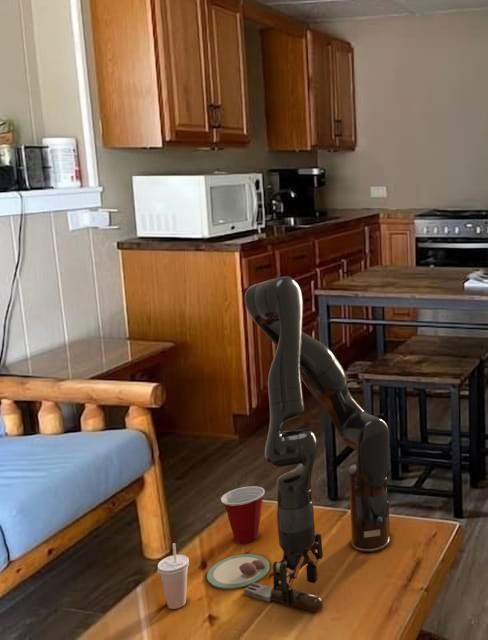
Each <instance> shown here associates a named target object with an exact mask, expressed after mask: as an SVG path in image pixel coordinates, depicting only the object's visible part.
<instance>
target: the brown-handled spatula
mask: <svg viewBox="0 0 488 640" xmlns="http://www.w3.org/2000/svg"><path fill="white" fill-rule="evenodd" d="M244 595H245V596H249V597H252V598H254V599H257V600H261V601H264V602H267V603H271V602H272V600H273V601H276V602H280V603H283V602H282V591H278V590H274V586H270V585H266V584H260V583H257V582H256V583H254V582H253V583H252V585H249V586H247V587H245V588H244ZM293 598H294V603H293V604H292V605H291V606H293V607H296V608H300V609H303V610H306V611H309V612H314V613H317V612H320V610H321V609H322V607H323V605H324V602H323V599H322V598H321V597H320V596H318V595H314V594H311V593H307V592H303V591H300V590H297V589H293Z"/></svg>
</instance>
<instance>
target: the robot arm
mask: <svg viewBox="0 0 488 640" xmlns="http://www.w3.org/2000/svg"><path fill="white" fill-rule="evenodd" d="M244 304H245V308H246V310H247V313H248V314H249V316H250V317H251V319H252V320H253V322H255V324H256V325H257V326H258V327H259V328H260V329H261V330H262V332H263V333H264V334H265V335H266V336H267V338H269V340H270V341H271V342H272V343H273V344H274V345H275V347H276V350H275V354H274V356H273V359H272V361H271V364H270V368H269V372H268V377H267V394H268V401H269V402H268V404H269V423H268V432H267V436H266V442H265V446H264V457H265V460H266V462H267V463H268V465H269V466H271V468H285V467H290V466H296V465H297V466H296V467H295V468H294V469H292V470H290V471H287V472H285V473H283V474H281V475H280V476H279V477H278V478H277V479H276V484H275V486H276V498H277V499H276V501H277V510H276V519H277V535H278V546H280V548H281V550H282V551H283V555H282V559H281V560H280V561H275V560H274V562H273V564H272V576H273V577H272V579H273V587H274V590H278V591H282V602H281V603H282V604H284V605H286V606H290V607H291V606H293V605H292V604H293V603H294V598H293V590H294V588H293V586H294V583H295V580H296V579H297V578H298V576H299V574H300V570H301V569H302V568H303V567H304V566H305V570H306V581H307V582H308V583H311V584H315V583H317V582H318V565H319V560H322V559H323V556H324V552H323V543H322V542H323V541H322V535H321V533H317V532H316V527H315V511H314V504H313V498H312V474H313V467H314V463H315V461H316V457H317V456H316V455H317V451H318V439H317V436H316V434H315V433H314V431H312V430H311V429H309V428H298V429H292V430H284V431H282V427H283V425H284V424H285V423H287V422H289V421H292V420H293V419H294V420H295V419H298V418H300V417H301V416H303V415H304V413H305V401H304V392H303V391H304V390H303V384H304V385H305V387H306V388H307V389H308V391H309V392H310V393H311V394H312V396H313V397H314V398H315V399H316V401H317V402H318V404H319V405H320V406H321V407H322V408H323V409H324V411H325V412H326V413H327V415H328V416H329V418H330V420H331V422H332V423H333V425H334V427H335V429H336V431H337V432H338V434H339V436H340V438H341V440H342V441H343V442H344V444H345V445H346V446H348V447H349V448H351V449H352V450H354V451H356V452H357V455H356V456H357V461H356V462H354V463H352V464H351V465H350V467H349V468H348V487H349V509H350V525H351V526H350V530H351V531H350V533H351V546H352V548H353V549H354V550H356V551H358V552H363V553H373V552H376V551H380V550H383V549H385V548H386V547H387V546H388V545H389V543H390V537H391V531H390V530H391V529H390V528H391V527H390V502H389V501H388V481H387V471H388V468H389V466H390V445H391V443H390V441H391V440H390V436H391V435H390V430H389V426H388V424H387V422H386V421H385V420H383V419H382V418H379V417H377V416H375V415H372V414H371V413H368V412H367V411H365V410H364V409H363V408H362V407H361V406H360V405H359V404H358V403H357V401H356V400H355V399H354V397H353V396H352V394H351V392H350V390H349V385H348V379H347V375H346V372H345V370H344V368H343V366H342V364H341V363H340V361H339V360H338V359H337V357H336V356H335V354H334V353H333V351H332V350H331V349H330V348H329V347H328V346H327V345H325V344H324V343H322V342H321V341H319V340H318V339H316V338H314V337H312V336H310V335H309V334H307V333H306V332H303V323H304V321H303V320H304V299H303V292H302V289H301V286H300V285H299V283H298V282H297V281H296V280H295V279H294V278H292V277H291V276H289V275H284V276H279V277H276V278H272V279H268V280H264V281H262V282H258V283H255V284H252V285H251V286H249V287H248V288H247V290H246V291H245V294H244ZM288 570H289V571H293V572H288ZM288 579H289V580H288Z"/></svg>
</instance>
